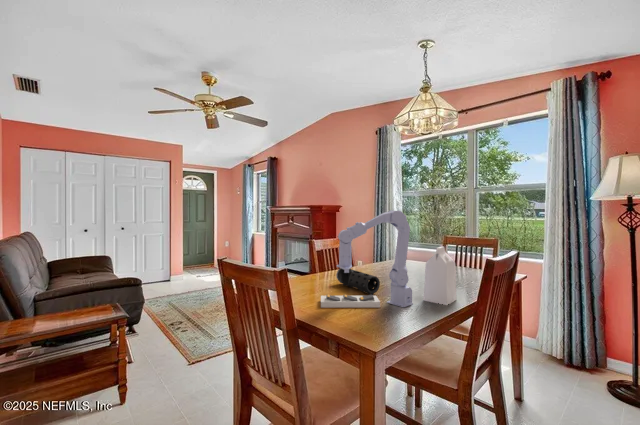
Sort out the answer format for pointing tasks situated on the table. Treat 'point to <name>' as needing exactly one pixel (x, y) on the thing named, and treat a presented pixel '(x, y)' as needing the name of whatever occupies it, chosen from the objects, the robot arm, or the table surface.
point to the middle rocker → (349, 298)
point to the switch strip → (349, 302)
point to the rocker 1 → (332, 298)
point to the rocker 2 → (367, 298)
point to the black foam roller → (361, 281)
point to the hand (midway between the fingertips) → (345, 284)
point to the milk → (440, 278)
